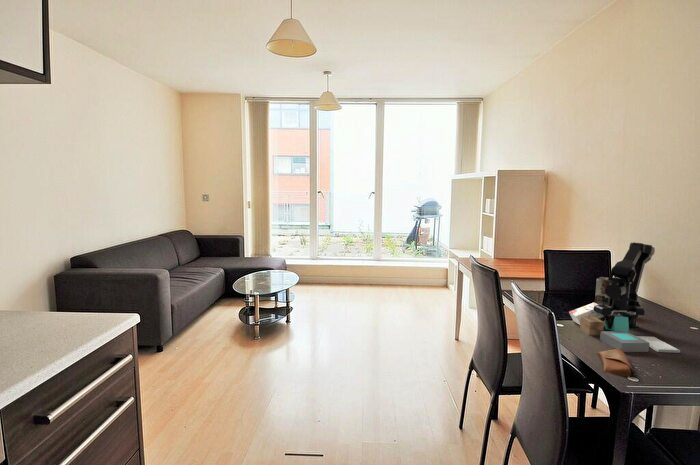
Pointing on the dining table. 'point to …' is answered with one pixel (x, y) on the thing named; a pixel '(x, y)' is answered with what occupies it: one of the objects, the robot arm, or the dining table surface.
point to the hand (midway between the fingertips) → (616, 328)
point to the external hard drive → (659, 345)
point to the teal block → (619, 324)
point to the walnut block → (591, 325)
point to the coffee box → (601, 288)
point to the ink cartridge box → (585, 313)
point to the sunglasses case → (616, 362)
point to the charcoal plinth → (624, 341)
